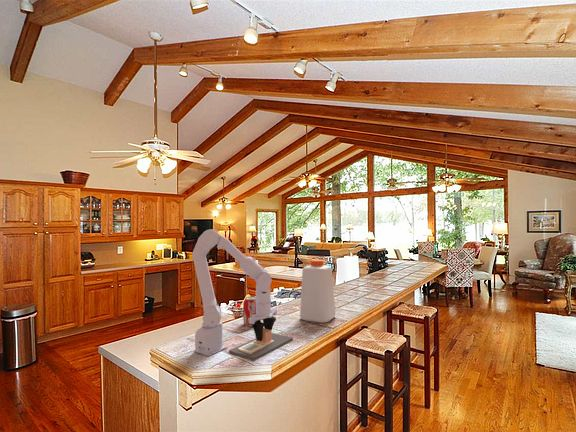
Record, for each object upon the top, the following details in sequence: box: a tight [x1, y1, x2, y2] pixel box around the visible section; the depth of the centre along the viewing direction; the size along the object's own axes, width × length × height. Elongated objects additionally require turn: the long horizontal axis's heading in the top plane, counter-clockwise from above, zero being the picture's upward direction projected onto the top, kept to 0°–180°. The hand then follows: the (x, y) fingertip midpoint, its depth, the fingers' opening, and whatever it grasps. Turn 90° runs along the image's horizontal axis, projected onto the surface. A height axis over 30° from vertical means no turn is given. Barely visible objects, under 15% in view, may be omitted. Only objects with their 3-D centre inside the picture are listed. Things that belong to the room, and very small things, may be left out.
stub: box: [253, 328, 274, 346], centre depth 121 cm, size 5×6×5 cm
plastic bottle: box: [299, 259, 336, 324], centre depth 155 cm, size 15×15×28 cm
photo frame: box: [238, 342, 265, 354], centre depth 115 cm, size 8×6×1 cm
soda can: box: [242, 296, 256, 327], centre depth 146 cm, size 7×7×12 cm
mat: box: [228, 332, 294, 361], centre depth 119 cm, size 23×12×1 cm, turn 145°
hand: (263, 338), depth 121 cm, fingers open, 4 cm apart
